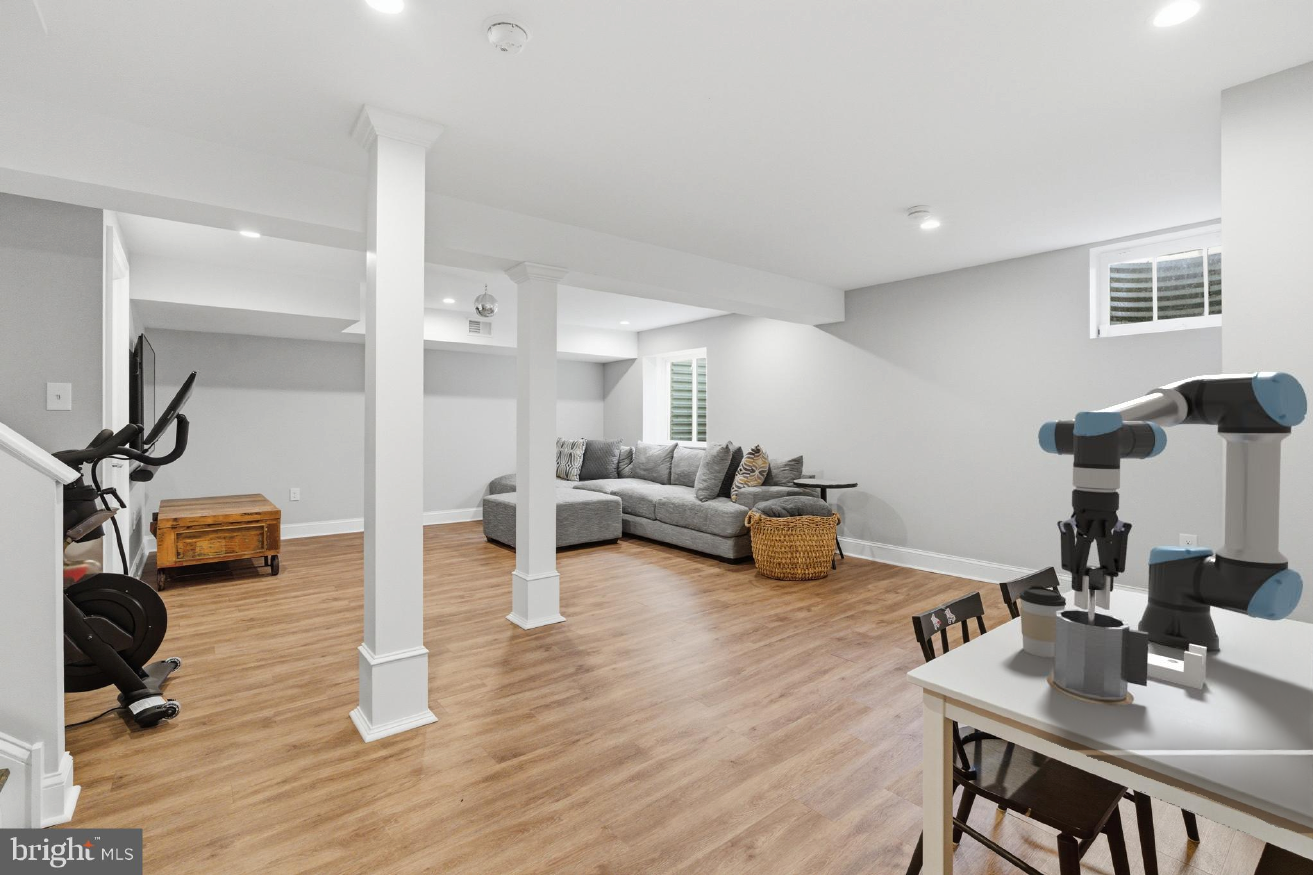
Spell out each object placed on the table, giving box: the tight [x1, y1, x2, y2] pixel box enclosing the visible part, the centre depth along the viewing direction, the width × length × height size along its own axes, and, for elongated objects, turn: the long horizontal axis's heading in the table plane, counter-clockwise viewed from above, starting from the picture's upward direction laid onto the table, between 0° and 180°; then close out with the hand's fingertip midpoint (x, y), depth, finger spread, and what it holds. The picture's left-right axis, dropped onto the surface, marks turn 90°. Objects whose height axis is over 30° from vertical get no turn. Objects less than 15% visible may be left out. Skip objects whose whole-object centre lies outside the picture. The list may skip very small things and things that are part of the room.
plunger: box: [1084, 564, 1104, 626], centre depth 119 cm, size 8×8×20 cm
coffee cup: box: [1019, 585, 1067, 658], centre depth 138 cm, size 9×9×15 cm
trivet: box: [1046, 674, 1135, 706], centre depth 119 cm, size 14×14×1 cm
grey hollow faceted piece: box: [1053, 608, 1149, 702], centre depth 119 cm, size 13×12×14 cm
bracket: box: [1147, 644, 1207, 690], centre depth 127 cm, size 13×7×8 cm, turn 42°
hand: (1091, 607), depth 119 cm, fingers closed on plunger, 4 cm apart
